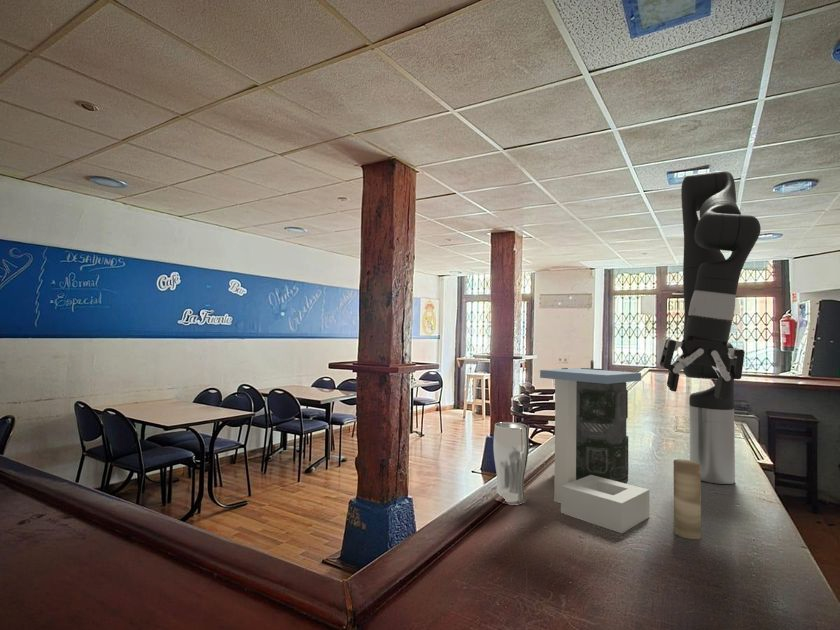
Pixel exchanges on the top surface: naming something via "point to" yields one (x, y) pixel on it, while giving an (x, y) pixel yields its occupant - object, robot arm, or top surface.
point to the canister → (601, 430)
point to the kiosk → (590, 494)
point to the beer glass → (511, 460)
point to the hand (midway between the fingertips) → (694, 394)
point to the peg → (687, 499)
